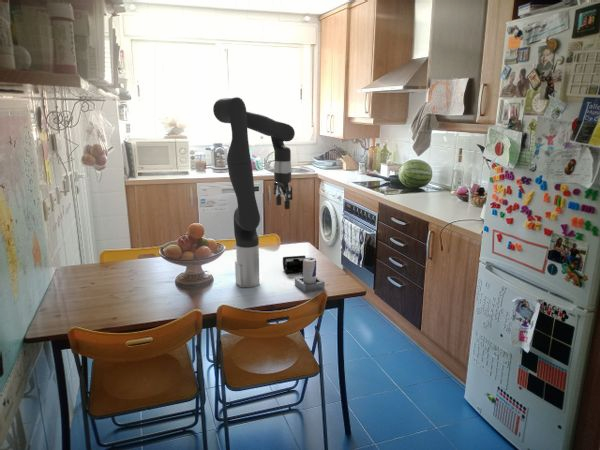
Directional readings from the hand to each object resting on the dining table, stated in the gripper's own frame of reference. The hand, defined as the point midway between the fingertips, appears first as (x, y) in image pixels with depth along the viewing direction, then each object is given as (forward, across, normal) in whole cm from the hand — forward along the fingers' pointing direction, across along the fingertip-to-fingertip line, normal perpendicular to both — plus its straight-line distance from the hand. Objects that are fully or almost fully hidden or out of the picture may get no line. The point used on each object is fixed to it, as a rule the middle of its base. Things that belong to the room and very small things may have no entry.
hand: (282, 207), depth 199 cm
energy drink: (+28, +27, -1) cm, 39 cm away
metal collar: (+28, +27, -1) cm, 39 cm away
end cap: (+28, +8, +2) cm, 30 cm away
